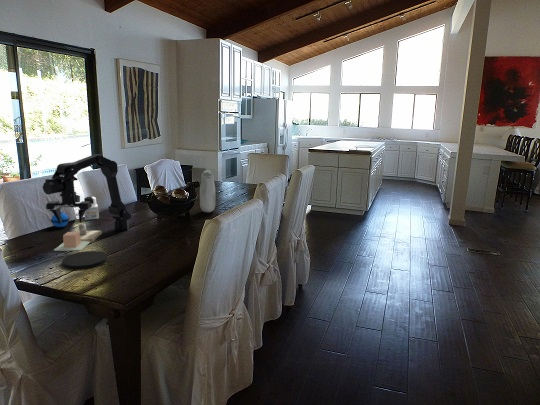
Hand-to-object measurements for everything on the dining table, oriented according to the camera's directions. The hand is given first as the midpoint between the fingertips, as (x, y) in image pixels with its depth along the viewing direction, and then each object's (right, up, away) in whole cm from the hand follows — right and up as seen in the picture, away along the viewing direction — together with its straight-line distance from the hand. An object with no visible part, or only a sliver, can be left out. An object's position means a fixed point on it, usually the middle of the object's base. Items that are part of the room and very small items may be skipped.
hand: (70, 222), depth 185 cm
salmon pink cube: (0, -11, +2) cm, 11 cm away
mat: (0, -12, +2) cm, 12 cm away
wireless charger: (+15, -17, -16) cm, 27 cm away
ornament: (-22, -4, +32) cm, 40 cm away
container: (-14, 0, +53) cm, 55 cm away
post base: (-2, -8, +16) cm, 18 cm away
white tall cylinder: (+54, +3, +73) cm, 91 cm away
